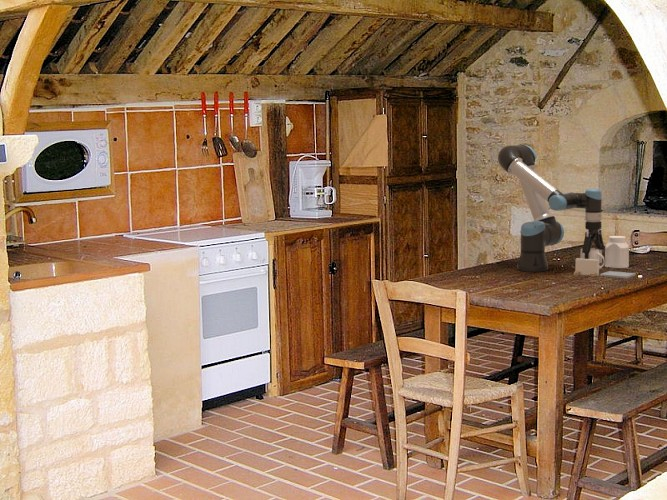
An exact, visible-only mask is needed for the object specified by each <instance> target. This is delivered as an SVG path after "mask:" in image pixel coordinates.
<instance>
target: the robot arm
mask: <svg viewBox="0 0 667 500" xmlns="http://www.w3.org/2000/svg"><path fill="white" fill-rule="evenodd" d="M536 160H537V154H536V152H535V149H533V148H532V147H531V146H529V145H525V144H518V145H506V146H503V147H502V148H501V149H500V150H499V152H498V154H497V161H498V164H499V166H500V167H501V168H502V169H503V170H504V171H505V172H507V174H509V175H513V176H515V177H516V178H517V179H518V181H519V183H520V186H521V188H522V193H524V194H523V195H524V197H525V199H526V202H527V205H528V208H529V210H530V213H531V215H532V218H533V220H532V221H527V222H524V223H522V224H521V226H520V255H519V258H518V260H517V264H516V269H517V271H520V272H521V271H522V272H544V271H548V270H549V264H548V260H547V257H546V255H545V254H546V252H545V251H546V250H545V249H546V247H550V246H555V245H557V244H559V243H560V242H561V241H563V238H564V235H565V229H564V226H563V225H562V224H561V223H560V222H558V220H557V219H556V217H555V215H554V214H551V212H550V210H549V209H551V210H552V211H554V212H555V211H557V212H559V211H560V212H561V211H564V210H565V211H566V210H572V209H585V211H584V212H585V214H584V215H585V217H584V218H585V219H584V220H585V223H584V224H585V226H584V228H585V230H588V231H585V232H584V240H583V244H582V245H583V246H582V248H583V249H582V248H581V249H582V253H584V259H590V253H589V252H590V249H591V248H592V246H593V243H594V245H595V247H596V249H599V253H600V254H602V255H603V250H604V251H605V244H604V238H603V235H602V230H601V229H602V217H603V214H602V202H603V201H602V200H603V197H602V190H601V189H600V188H589V189H585V192H571V191H570V192H565V193H563V192H561V191H560V190H559V189H557V188H556V187H555V186H553V184H551V183H550V182H549V181H547V180H546V179H545V178H544V177H542V176H541V175H540V174H539V173H537V172H536V171H535V169H536ZM547 203H548V204H547ZM548 206H549V207H548ZM599 264H603V259H602V257H600V256H599Z"/></svg>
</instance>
